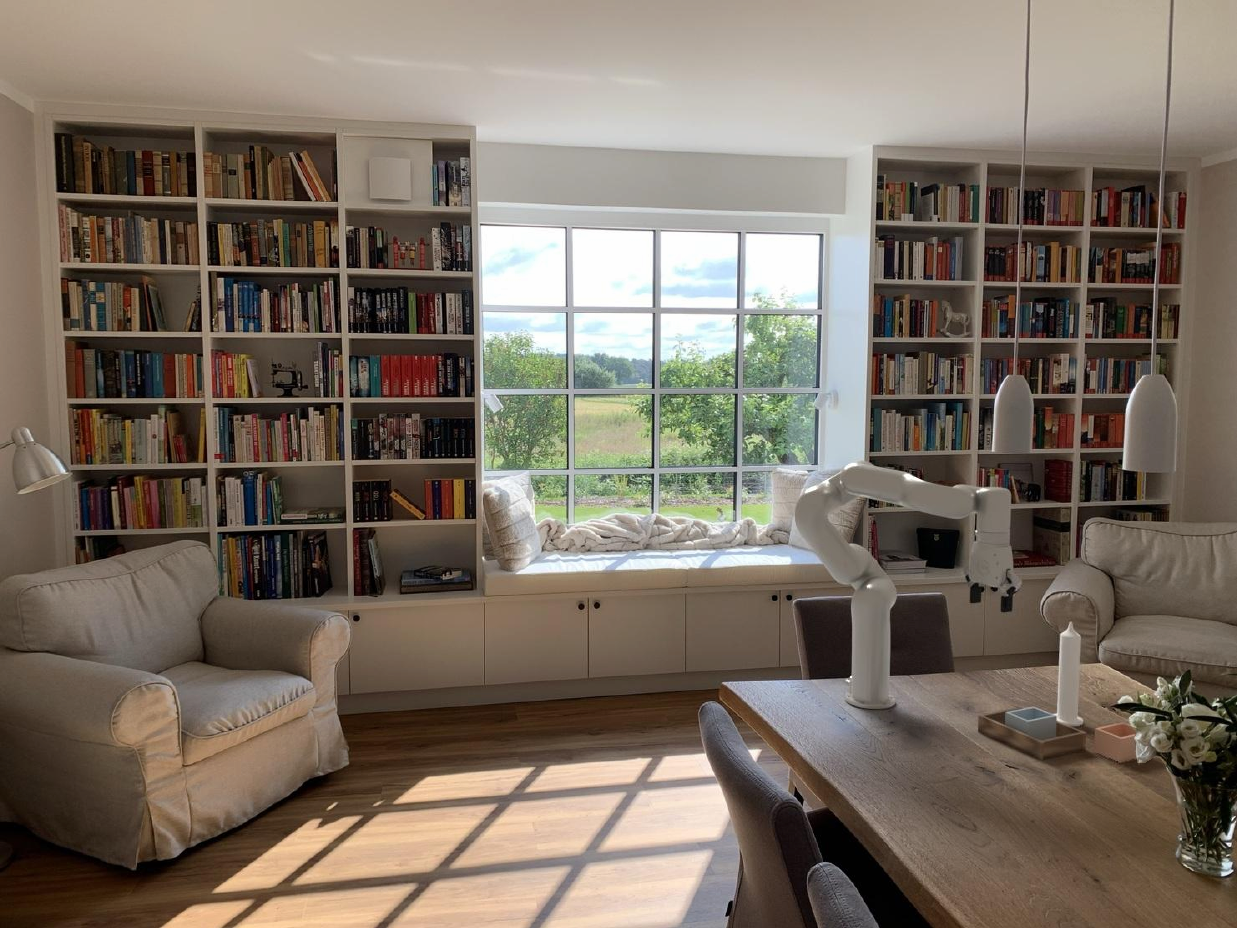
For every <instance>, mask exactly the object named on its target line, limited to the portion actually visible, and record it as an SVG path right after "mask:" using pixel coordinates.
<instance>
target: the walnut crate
mask: <svg viewBox="0 0 1237 928" xmlns="http://www.w3.org/2000/svg"><path fill="white" fill-rule="evenodd" d="M1024 708H1025V707H1023V706H1018V707H1012V708H1008V709H1003V710H999V711H993V712H988V713H983V714H978V715H977V716H978V717H977V718H978V721H977V722H978V724H977V733H978V732H979V734H980V733H981V734H983V735H985V736H987V737H989V738H991V739H993V740H994V741H995V740H996V741H998V742H1000V743H1002V744H1004V745H1007V746H1009V747H1010V748H1011V747H1012V749H1013V748H1014V749H1015V750H1018V751H1019V752H1022V753H1024V754H1027V755H1028V756H1031V757H1033V758H1035V759H1037V760H1040V761H1043V760H1044V761H1045V760H1047V759H1051V758H1055V757H1060V756H1064V755H1069V754H1073V753H1077V751H1078V752H1081V751H1080V750H1082V751H1084V750H1083V749H1086V748H1087V747H1086V746H1087V744H1086V743H1087V732H1086V731H1084V730H1081V729H1079V728H1075V726H1069V725H1066V724H1064V723H1061V722H1059V721H1057V722H1056V737H1055V738H1051V739H1047V740H1042V741H1041V740H1038V739H1036V738H1034V737H1031V736H1029V735H1027V734H1024V733H1022V732H1020V731H1017V730H1015V729H1013V728H1010V727H1008V726H1006V725H1005V712H1009V711H1014V710H1019V709H1024ZM1068 753H1069V754H1068Z"/></svg>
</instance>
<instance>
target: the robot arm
mask: <svg viewBox="0 0 1237 928" xmlns="http://www.w3.org/2000/svg"><path fill="white" fill-rule="evenodd" d="M860 497H861V498H864V499H865V498H866V499H871V500H874V501H880V502H885V503H890V504H894V505H896V506H897V505H898V506H901V507H904V508H907V509H910V510H911V509H912V510H914V511H918V512H922V513H926V514H930V515H934V516H938V517H943V518H948V519H954V520H956V519H957V520H960V519H964V518H967V517H968V516H970V515H972V514H976V530H975V531H974V535H975V538H976V539H975V541H973V544H972V548H971V551H970V557H969V563H968V565H965V566H963V568H962V569H963V570H962V571H963V574H964V578H965V580H966V582H967V586H968V587H969V603H970V604H979V603H981V602H982V586H980V585H985V586H989V587H991V588H992V587H993V588H999V590H1000V591H1001V593H1002V595H1001V596H1000V612H1001V613H1010V612H1013V599H1014V598H1013V597H1014V596H1016V594H1017V593H1018V592H1019V590H1020V588H1021V586H1022V583H1023V580H1022V578H1020V577H1019V576H1018V575H1017V574H1016V573H1014V558H1013V557H1014V556H1013V551H1012V545H1010V542H1011V541H1010V540H1011V537H1010V536H1011V516H1012V515H1011V510H1012V508H1011V507H1012V493H1011V491H1010V490H1009V489H1008V488H1004V487H1000V486H999V487H998V486H986V487H985V486H983V487H981V486H975V485H969V484H956V485H954V486H947V485H942V484H937V483H933V482H929V481H925V480H923V479H920V478H918V477H916V476H914V475H913V474H912V473H909V472H906V471H901V470H896V469H892V468H885V467H881V466H876V465H874V464H873V463H872V462H870V461H866V460H857V461H853V462H850V463H848V464H847V465H846V466H844V467H843V469H842V470H841V471H838V472H837V473H836V474H834V475H833V476H830V477H829V478H827V479H826V480H824V481H822V482H820V483H817V484H815V485H812V486H809V487H808V488H807V489H805V490H804V491H803V492H802V494H801V495H800V496H799V498H798V500H797V502H796V505H795V508H794V522H795V525H796V528H797V530H798V532H799V533H800V536H801V537H802V538H803V539H804V540H805V542H806V543H807V544H808V546H809V548H811V550H812V551H813V553H814V555H816V557H817V558H818V559H819V561H820V562H821V564H822V565H823V567H825V569H826V570H827V572H828V573H829V574H830V575H831V577H832V578H833V579H834V580H835V582H837V583H839V584H840V585H841V584H842V585H851V586H852V588H853V589H854V590H855V591H854V592H853V595H852V598H851V602H850V606H851V607H850V610H851V623H852V624H851V625H852V627H851V629H852V631H851V634H852V635H851V636H852V638H851V643H852V644H851V647H852V648H851V649H852V650H851V676H849V677H848V679H845V680H844V684H845V685H846V686H848V687H849V690H848V691H847V692H845V695H844V699H845V702H847V703H848V704H850V705H852V706H855V707H857V708H862V709H868V710H885V709H889V708H892V707H893V706H894V705H895V704H896V698H895V697H894V696H893V695H892V694H890V670H891V669H890V667H891V664H890V663H891V621H890V620H891V619H890V618H891V617H890V615H891V609H892V608H893V606H894V605H895V603H896V601H897V598H898V594H897V593H898V592H897V588H896V586H895V584H894V582H893V580H892V579H891V578H890V577H889V575H888V574H887V573H886V572H885V571H884V569H883V568H882V567H881V565H880V564H879V562H878V561H877V560H876V558H875V557H874V556H873V555H872V554H871V552H869V550H867V548H865V547H863V546H862V545H859V544H857V543H849V542H848V540H846V538H844V536H843V535H842V533H841V532H840V531H839V530H838V529H837V527H836V526H834V525H833V524H832V522H830V519H829V515H830V514H832V513H834V512H836V511H838V510H839V509H841V508H843V507H845V506H846V505H848V504H849V503H851V502H854V501H855V500H857V499H858V498H860Z"/></svg>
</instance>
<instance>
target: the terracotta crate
mask: <svg viewBox="0 0 1237 928" xmlns="http://www.w3.org/2000/svg"><path fill="white" fill-rule="evenodd" d="M1135 734H1136V732H1135V731H1134V730H1133V729H1132V728H1131V727H1130V724H1128V723H1126V722H1117V723H1113V724H1109V725H1104V726H1100V727H1096V728H1094V743H1093V745H1094V746H1093V752H1094V754H1097V753H1099V754H1101V755H1100V756H1102V755H1103V756H1102V757H1104V756H1105V758H1107V759H1109V758H1111V759H1113V760H1112V761H1114V760H1115V761H1114V762H1116V761H1118V762H1117V763H1119V764H1123V763H1126V762H1125V761H1127V762H1131V761H1135V760H1136V759H1135V743H1134V736H1135ZM1099 754H1098V755H1099ZM1133 758H1134V760H1132V759H1133ZM1111 759H1110V760H1111ZM1130 760H1131V761H1130ZM1122 762H1123V763H1122Z"/></svg>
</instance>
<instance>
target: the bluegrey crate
mask: <svg viewBox="0 0 1237 928" xmlns="http://www.w3.org/2000/svg"><path fill="white" fill-rule="evenodd" d="M1053 714H1054V713H1051V712H1048V711H1045V710H1043V709H1040V708H1038V707H1036V706H1030V707H1024V709H1019V710H1014V711H1009V712H1005V725H1006V726H1008V727H1010V728H1013V729H1015V730H1017V731H1020V732H1022V733H1024V734H1027V735H1029V736H1031V737H1034V738H1036V739H1038V740H1041V741H1042V740H1047V739H1051V738H1055V737H1056V722H1057V716H1056V715H1053Z"/></svg>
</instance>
